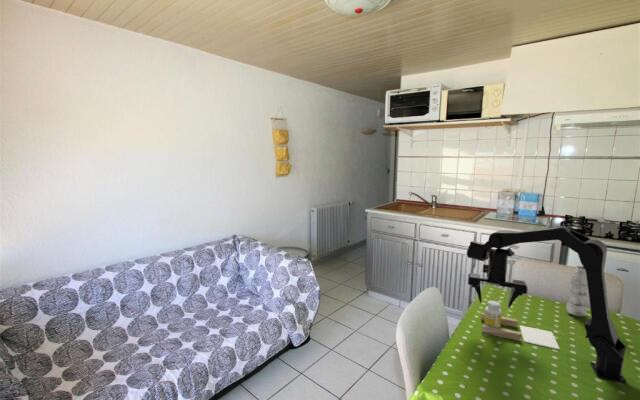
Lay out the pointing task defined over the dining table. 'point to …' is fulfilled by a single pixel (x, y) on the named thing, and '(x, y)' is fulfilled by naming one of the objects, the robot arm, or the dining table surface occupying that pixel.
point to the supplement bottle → (493, 314)
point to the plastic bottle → (578, 293)
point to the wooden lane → (501, 331)
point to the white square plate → (538, 337)
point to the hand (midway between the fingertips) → (494, 304)
